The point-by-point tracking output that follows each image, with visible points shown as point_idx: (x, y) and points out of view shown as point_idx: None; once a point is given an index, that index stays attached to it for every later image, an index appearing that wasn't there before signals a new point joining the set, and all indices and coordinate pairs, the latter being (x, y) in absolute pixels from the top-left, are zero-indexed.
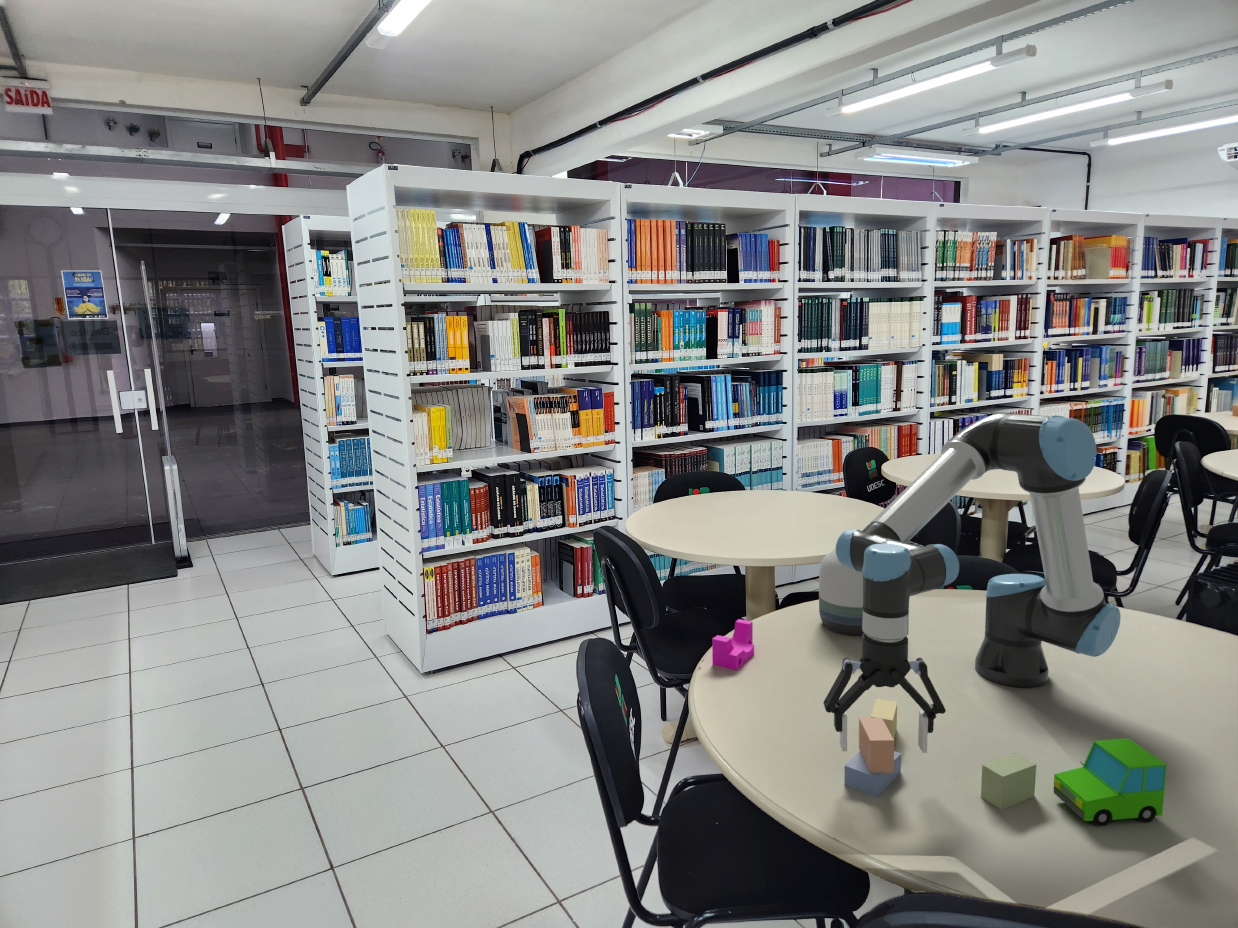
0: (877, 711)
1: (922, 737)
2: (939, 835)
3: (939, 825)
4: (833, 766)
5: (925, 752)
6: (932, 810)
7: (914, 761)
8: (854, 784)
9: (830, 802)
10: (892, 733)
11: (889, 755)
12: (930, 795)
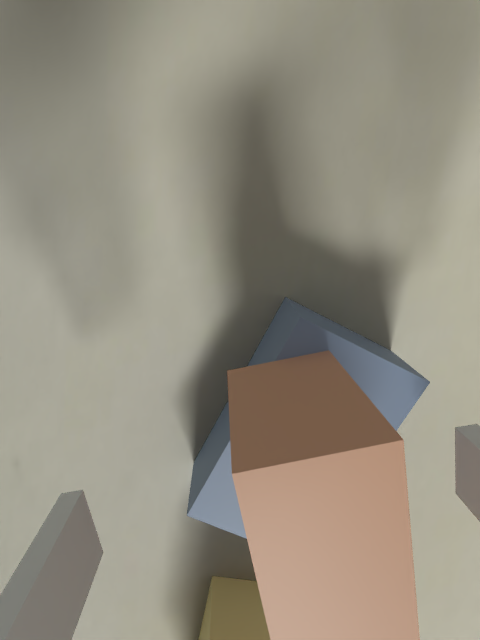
0: None
1: (49, 567)
2: (74, 87)
3: (72, 159)
4: (412, 446)
5: (68, 492)
6: (95, 254)
7: (145, 526)
8: (364, 338)
9: (457, 225)
10: (209, 635)
11: (253, 405)
12: (100, 346)
